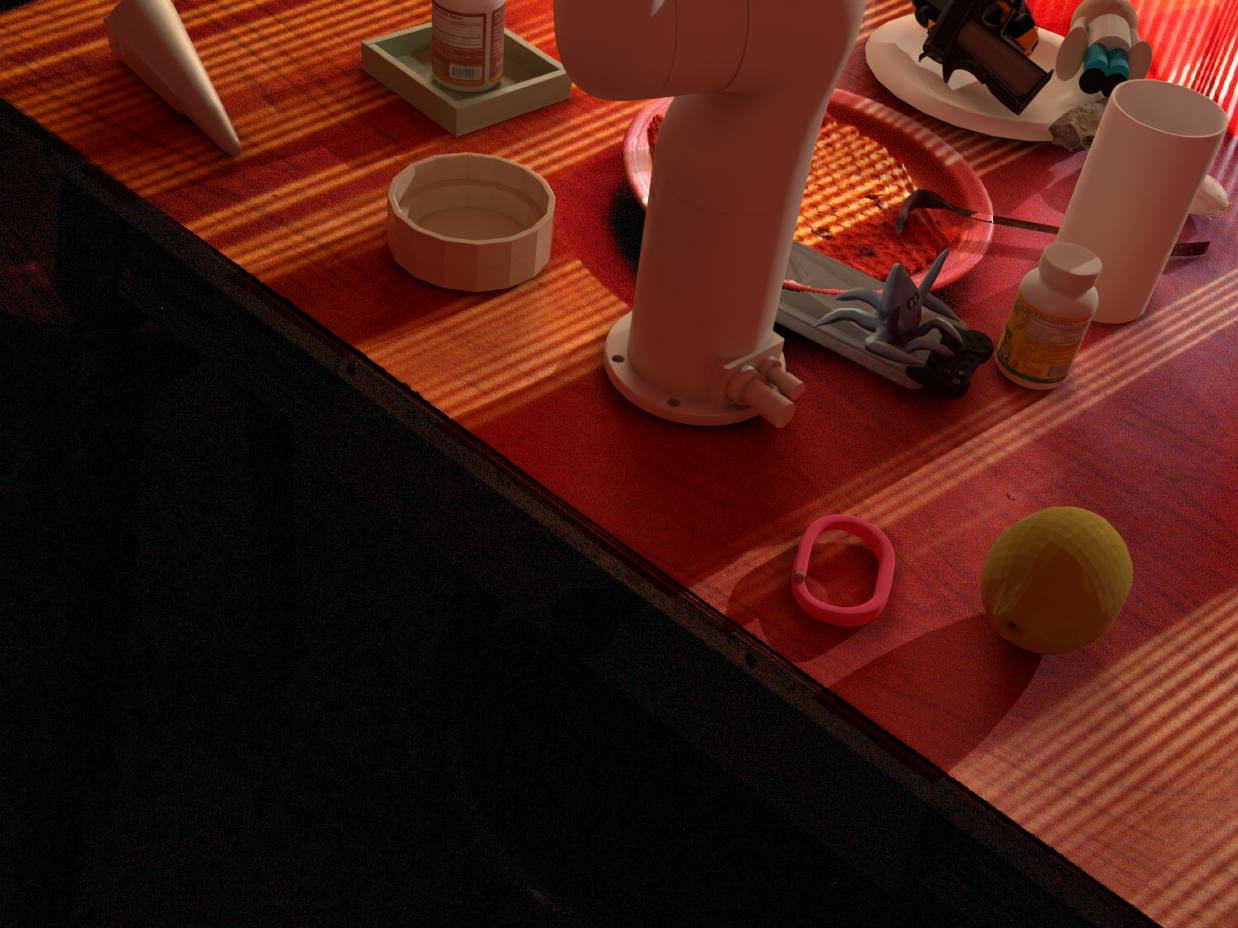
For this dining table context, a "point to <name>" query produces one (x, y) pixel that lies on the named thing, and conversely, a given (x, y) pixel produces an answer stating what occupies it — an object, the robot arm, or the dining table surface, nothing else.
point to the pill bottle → (468, 43)
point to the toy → (1103, 47)
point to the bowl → (470, 221)
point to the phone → (842, 335)
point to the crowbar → (1008, 220)
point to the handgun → (983, 53)
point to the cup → (1141, 187)
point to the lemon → (1056, 580)
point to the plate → (969, 86)
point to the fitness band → (884, 580)
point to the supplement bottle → (1050, 317)
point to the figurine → (917, 331)
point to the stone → (1078, 126)
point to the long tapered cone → (169, 64)
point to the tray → (520, 90)
